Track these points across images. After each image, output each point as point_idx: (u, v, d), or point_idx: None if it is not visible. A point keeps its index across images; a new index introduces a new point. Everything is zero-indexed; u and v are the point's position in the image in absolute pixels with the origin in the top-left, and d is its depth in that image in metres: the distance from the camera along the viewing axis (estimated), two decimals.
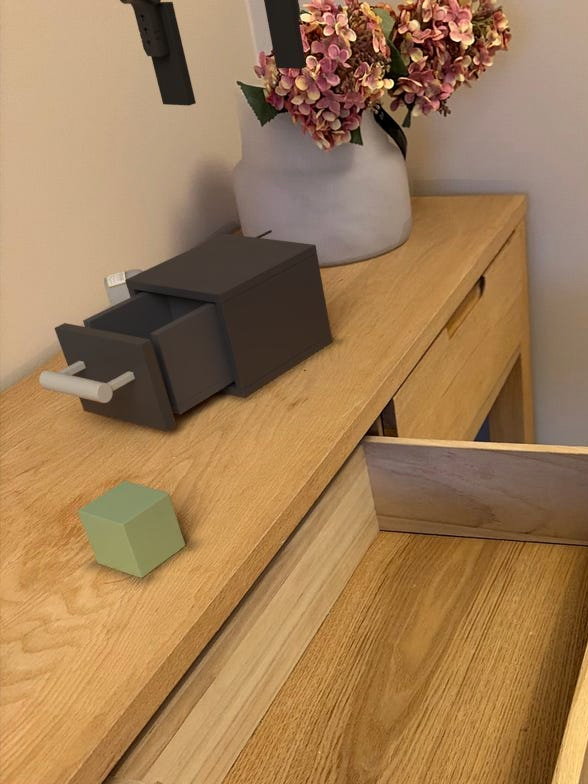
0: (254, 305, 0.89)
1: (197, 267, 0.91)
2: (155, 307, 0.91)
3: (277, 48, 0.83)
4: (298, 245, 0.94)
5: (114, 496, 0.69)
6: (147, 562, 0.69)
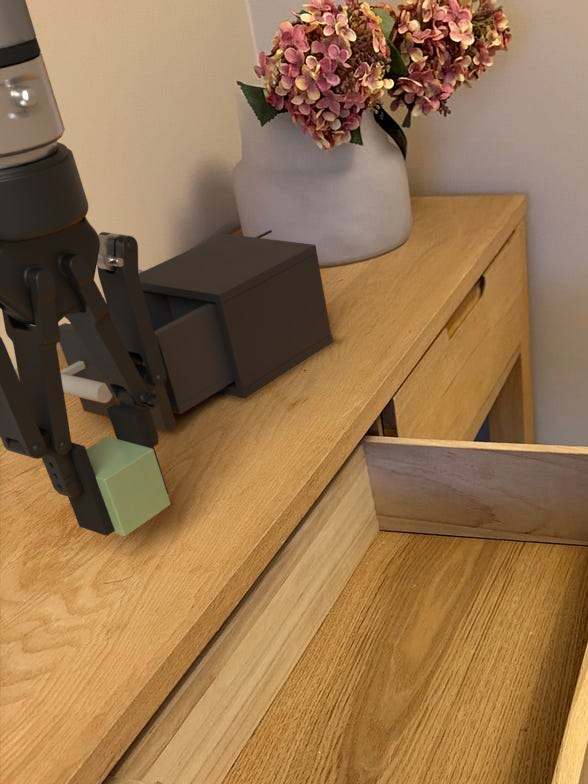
0: (254, 305, 0.89)
1: (197, 267, 0.91)
2: (155, 307, 0.91)
3: None
4: (298, 245, 0.94)
5: (97, 452, 0.67)
6: (131, 520, 0.67)
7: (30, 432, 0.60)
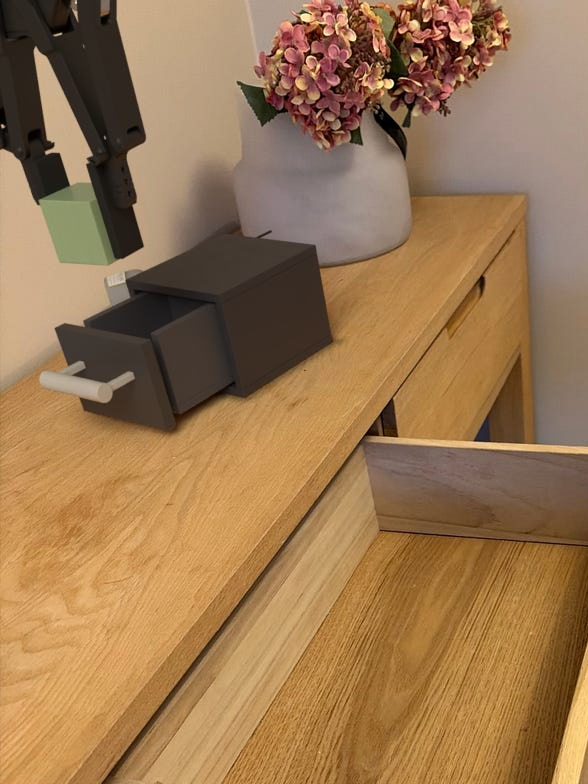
0: (254, 305, 0.89)
1: (197, 267, 0.91)
2: (155, 307, 0.91)
3: None
4: (298, 245, 0.94)
5: None
6: (65, 252, 0.73)
7: None
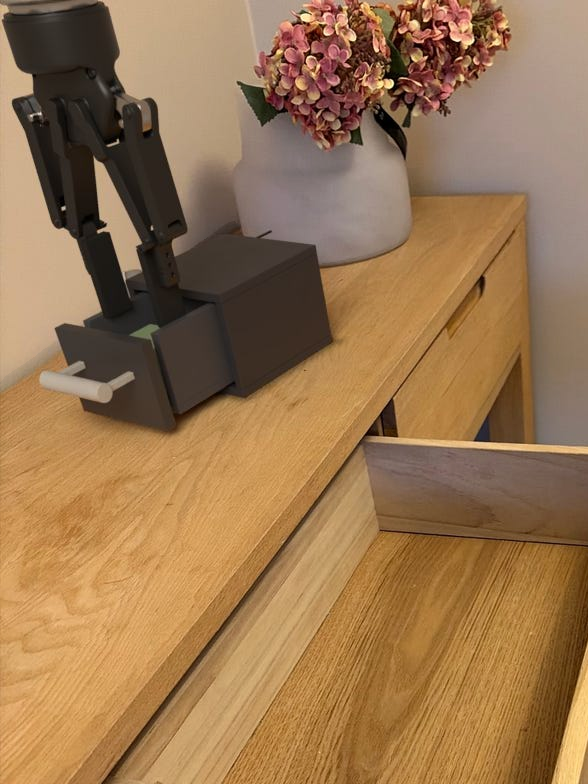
0: (254, 305, 0.89)
1: (197, 267, 0.91)
2: None
3: None
4: (298, 245, 0.94)
5: None
6: None
7: (51, 206, 0.82)
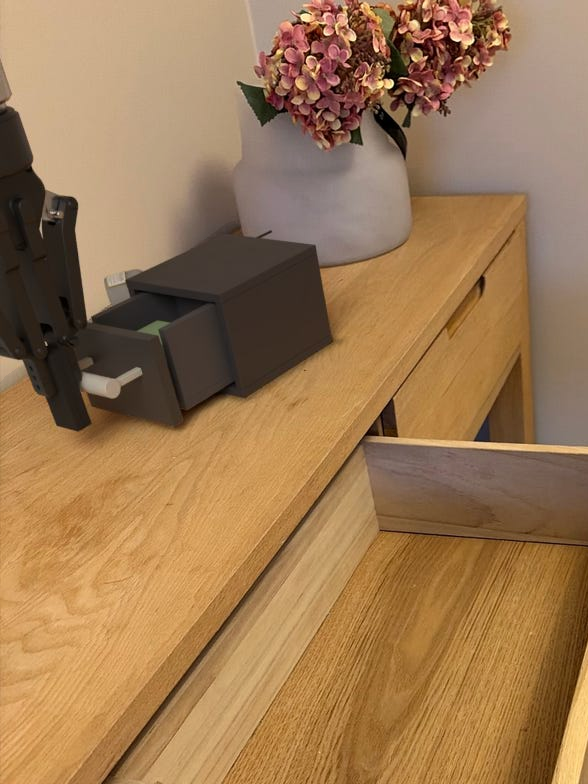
0: (254, 305, 0.89)
1: (197, 267, 0.91)
2: (162, 304, 0.91)
3: None
4: (298, 245, 0.94)
5: None
6: None
7: (10, 339, 0.74)
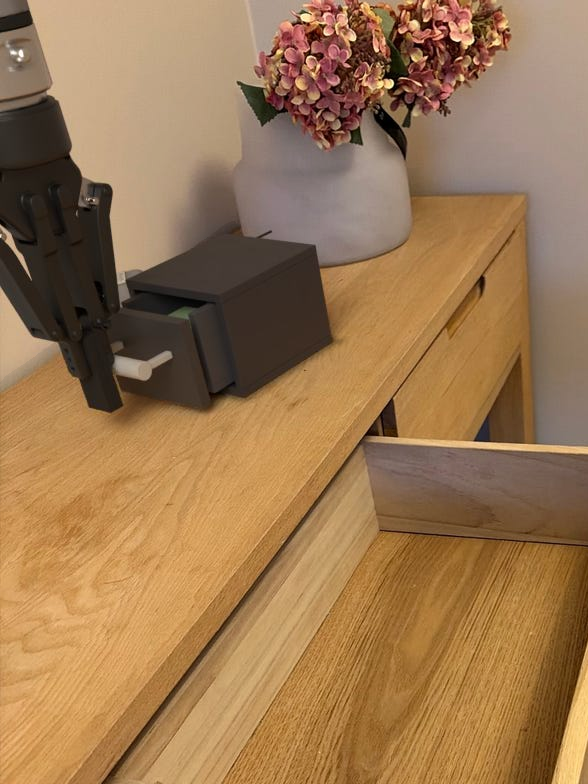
0: (254, 305, 0.89)
1: (197, 267, 0.91)
2: None
3: None
4: (298, 245, 0.94)
5: None
6: None
7: (47, 321, 0.76)
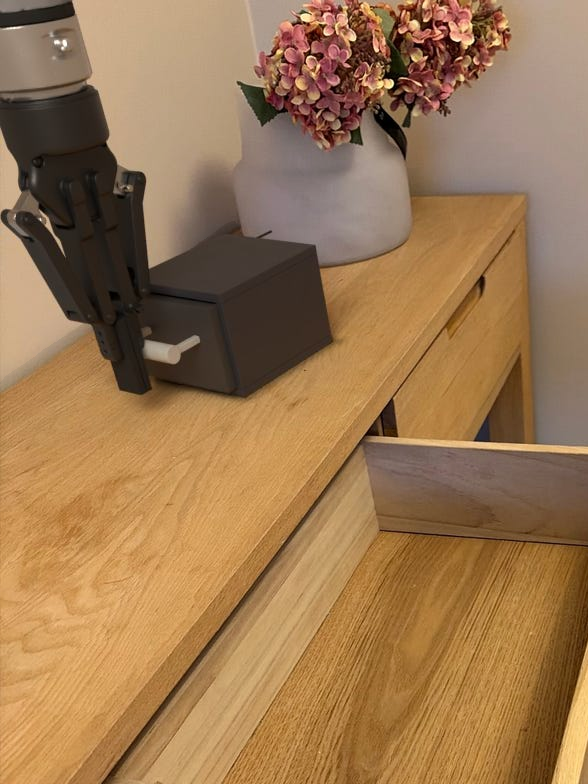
0: (254, 305, 0.89)
1: (197, 267, 0.91)
2: None
3: None
4: (298, 245, 0.94)
5: None
6: None
7: (83, 304, 0.79)
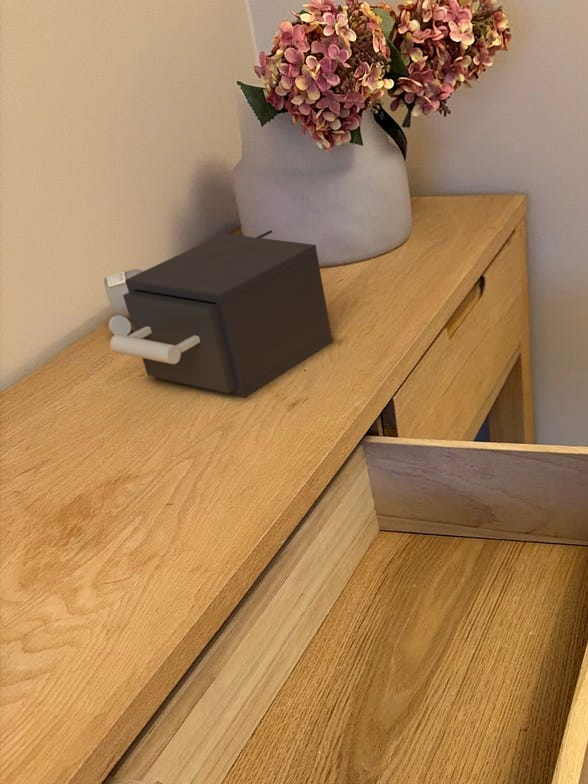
0: (254, 305, 0.89)
1: (197, 267, 0.91)
2: None
3: None
4: (298, 245, 0.94)
5: None
6: None
7: None
